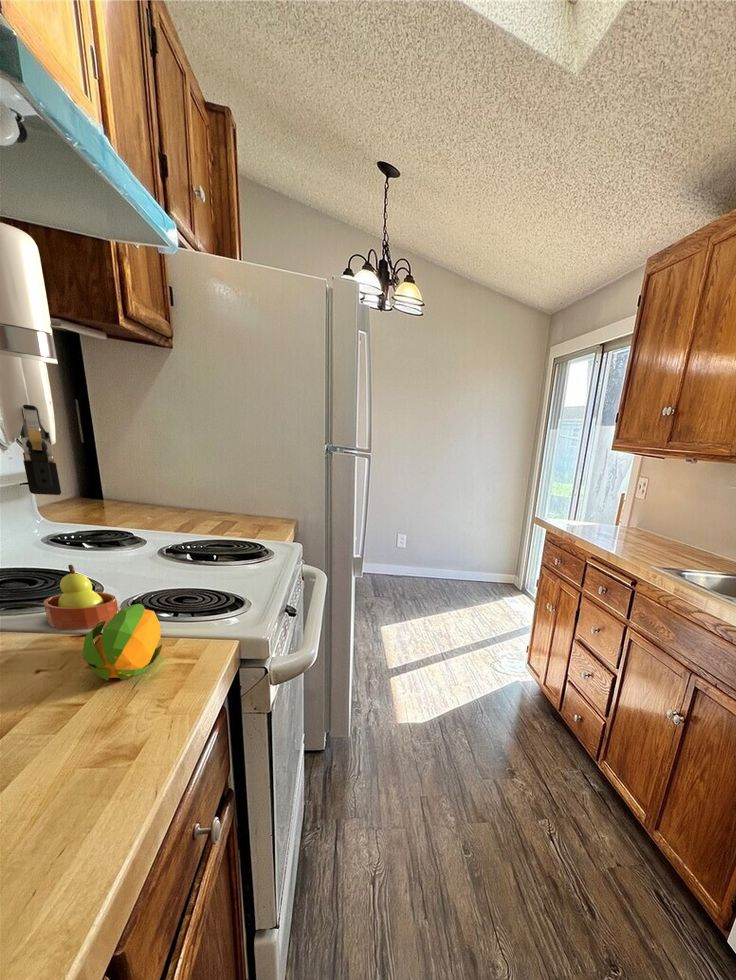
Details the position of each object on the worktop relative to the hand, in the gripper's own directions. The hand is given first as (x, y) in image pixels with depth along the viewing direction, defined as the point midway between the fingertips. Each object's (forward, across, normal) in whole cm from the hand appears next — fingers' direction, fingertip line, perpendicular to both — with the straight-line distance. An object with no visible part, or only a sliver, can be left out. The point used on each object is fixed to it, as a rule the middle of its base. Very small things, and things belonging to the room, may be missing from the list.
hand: (44, 488), depth 76 cm
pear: (+20, +1, +2) cm, 20 cm away
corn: (+20, +17, +6) cm, 27 cm away
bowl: (+20, +1, +2) cm, 20 cm away
